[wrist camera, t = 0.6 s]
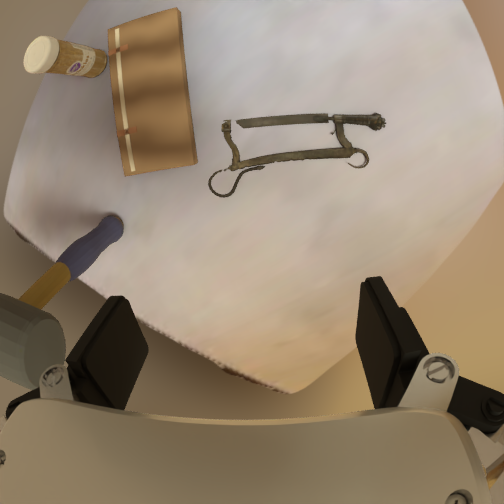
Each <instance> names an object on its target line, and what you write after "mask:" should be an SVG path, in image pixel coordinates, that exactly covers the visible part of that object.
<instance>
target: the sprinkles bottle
mask: <svg viewBox="0 0 504 504" xmlns="http://www.w3.org/2000/svg"><path fill="white" fill-rule="evenodd" d="M106 63H107V56H106V53H105V52H104V51H102V50H100V49H93V48H91V47H88V46H84V45H80V44H76V43H72V42H67V41H66V42H65V41H61V40H57V39H55V38H53V37H50V36H40V37H38V38H36V39H35V40H34V41H33V42H32V43H31V44H30V45H29V47H28V48H27V51H26V53H25V56H24V67H25V69H26V71H28V72H29V73H35V74H41V73H45V72H46V73H58V74H65V75H74V76H86V77H89V78H92V77H96V76H97V75H99V74H101V72H103V70H104V69H105V67H106Z"/></svg>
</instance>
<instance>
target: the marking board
mask: <svg viewBox="0 0 504 504" xmlns="http://www.w3.org/2000/svg"><path fill="white" fill-rule="evenodd" d="M108 47H109V51H108V53H109V63H110V76H111V87H112V96H113V105H114V113H115V121H116V128H117V137H118V141H119V147H120V153H121V159H122V164H123V169H124V175H125V176H130V175H135V174H141V173H146V172H152V171H158V170H164V169H170V168H176V167H183V166H189V165H195V164H196V163H198V160H197V153H196V146H195V139H194V131H193V124H192V116H191V108H190V99H189V91H188V82H187V73H186V64H185V54H184V44H183V33H182V21H181V12H180V11H179V10H178V8H177V7H176V8H172V9H168V10H165V11H161V12H157V13H154V14H151V15H147V16H144V17H141V18H138V19H135V20H132V21H129V22H127V23H124V24H121V25H118V26H116V27H113V28H111V29H108Z"/></svg>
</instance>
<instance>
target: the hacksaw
mask: <svg viewBox="0 0 504 504" xmlns="http://www.w3.org/2000/svg"><path fill="white" fill-rule="evenodd" d="M328 120H334V123H336V130H337V136H338V139H339V141H340V143H341V145H342V146H343V147H344V148H335V149H322V150H309V151H298V152H288V153H279V154H273V155H267V156H261V157H257V158H253V159H249V160H244V161H241V162H240V155H239V151H238V149H237V147H236V145H235V144H234V143H233V141H232V140H231V138H232V137H231V135H230V133H231V120H224V121H227V122H225V123H224V124H222V132H224V133H223V134H224V137H225V139H226V141H227V143H228V144H229V146H230V148H231V149H232V153H233V159H232V165H231V166H230V167H228V169H230V170H231V171H235V170H237V169H243V168H245V167H251V166H256V165H263V164H269V163H272V162H273V163H274V162H275V161H277V162H281V161H290V160H293V161H295V160H304V159H324V158H326V159H327V158H350V157H351V156H352V155H353V154H354V153H357V152H359V153H363V154H364V155H365V156H366V159H367V162H366V164H365V165H364V166H362V167H355V166H353V165H351V164H349V163H348V164H349V165H351V166H353V167H354V168H363V167H365V166H366V165H367V164H368V162H369V157H368V154H367V153H366V152H365V151H364V150H362V149H357V148H355V149H354V148H353V147H352V144H351V143H350V142H349V141H348V140H347V139H346V138H345V135H344V129H343V124H345V123H347V124H357V125H366V126H369V127H371V128H372V129H373V130H375V131H376V130H377V129H378V130H380V129H381V127H385V125H384V124H386V123H385V119H384V118H383V119H382V118H381V115H380V114H377V113H376V114H374V115H334V116H333V117H328V114H306V115H305V114H303V115H302V114H301V115H288V116H287V115H286V116H273V117H272V116H271V117H263V118H262V117H261V118H253V119H252V118H251V119H243V120H242V119H241V120H237V121H236V123H237V124H239V125H240V126H241V127H242V128H252V127H262V126H274V125H288V124H306V123H329V122H328ZM336 130H335V131H336ZM335 131H334V132H335ZM334 132H333V133H331V134H332V135H333V134H334ZM264 167H265V166H257V167H254V168H249V169H246V170H244V171H242V172H241V173H240V174H239V176H238V177H237V179H236V182H235V184H234V187H233V189H232V191H231V192H230V193H229V194H226V195H221V194H218V193H216V192H215V191H214V190H213V189H212V186H211V180H212V177H214V175H215V174H217V173H218V172H221V171H222V170H219V171H217V172H215V173H214V174H213V175H212V176H211V177H210V179H209V183H208V185H209V188H210V190H211V191H212V193H214V194H215V195H217V196H219V197H229V196H230V195H232V194H233V193H234V191H235V189H236V187H237V184H238V182H239V179H240V178H241V176H242V175H243V174H244V173H245V172H248V171H252V170H261V169H263V168H264ZM226 170H227V169H225V170H224V171H226Z"/></svg>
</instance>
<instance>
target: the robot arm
mask: <svg viewBox="0 0 504 504" xmlns="http://www.w3.org/2000/svg"><path fill="white" fill-rule="evenodd" d="M356 344H357V348H358V351H359V354H360V357H361V361H362V364H363V368H364V371H365V375H366V378H367V382H368V386H369V389H370V393H371V397H372V401H373V404H374V408H375V409H374V410H365V411H357V412H351V413H343V414H335V415H325V416H314V417H303V418H290V419H269V420H216V419H195V418H181V417H171V416H161V415H153V414H145V413H137V412H131V411H125V410H124V409H125V406H126V404H127V402H128V399H129V397H130V394H131V392H132V389H133V387H134V385H135V382H136V380H137V378H138V375H139V373H140V371H141V368H142V366H143V364H144V361H145V359H146V357H147V354H148V345H147V342H146V340H145V338H144V336H143V334H142V332H141V329H140V327H139V325H138V322H137V320H136V318H135V315H134V313H133V310H132V308H131V305H130V303H129V301H128V300H127V299H125V297H124V296H110V297H109V298H108V300H107V301H106V302H105V304H104V305H103V306H102V308H101V309H100V310H99V312H98V313H97V315H96V316H95V318H94V319H93V320H92V322H91V323H90V324H89V326H88V327H87V329H86V330H85V332H84V333H83V335H82V336H81V337H80V339H79V340H78V342H77V343H76V345H75V346H74V348H73V349H72V351H71V352H70V354H69V355H68V357H67V358H66V362H67V363H68V367H67V368H66V367H65V366H64V365H62V364H55V365H52V366H50V367H48V368H47V369H46V370H45V371H44V372H43V373H42V375H41V377H40V381H39V385H40V387H38V388H36V389H34V390H32V391H30V392H28V393H26V394H24V395H22V396H20V397H18V398H16V399H14V400H12V401H11V402H10V403H9V405H8V407H7V410H6V417H5V416H4V415H3V416H1V417H0V504H504V394H502V393H501V392H499V391H496V390H493V389H491V388H488V387H486V386H483V385H481V384H478V383H476V382H473V381H471V380H468V379H466V378H463V377H461V376H459V368H458V365H457V363H456V362H455V360H454V359H452V358H451V357H450V356H447V355H445V354H441V353H432V354H429V352H428V350H427V348H426V346H425V344H424V342H423V341H422V338H421V337H420V335H419V333H418V331H417V329H416V327H415V326H414V324H413V322H412V320H411V318H410V317H409V315H408V313H407V311H406V310H405V309H404V308H403V307H398V305H397V303H396V301H395V300H394V298H393V296H392V294H391V293H390V291H389V289H388V287H387V286H386V284H385V282H384V281H383V279H382V277H381V276H378V277H369V278H366V280H365V282H362V283H361V287H360V299H359V309H358V318H357V327H356ZM482 464H483V466H484V467H485V468H486V473H487V476H485V473H484V470H483V467H482Z"/></svg>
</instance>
